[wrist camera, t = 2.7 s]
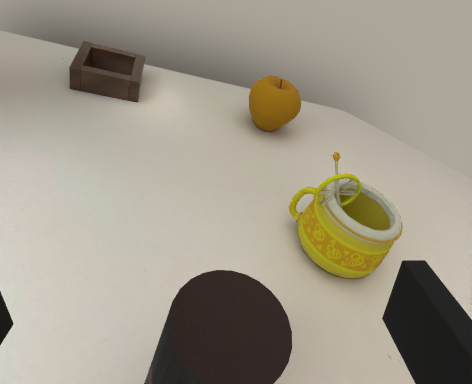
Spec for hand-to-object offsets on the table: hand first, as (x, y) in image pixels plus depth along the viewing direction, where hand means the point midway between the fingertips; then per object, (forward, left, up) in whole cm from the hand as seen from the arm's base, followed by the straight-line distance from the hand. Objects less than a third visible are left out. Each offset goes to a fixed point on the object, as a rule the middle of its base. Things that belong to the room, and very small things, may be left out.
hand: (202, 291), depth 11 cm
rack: (-34, +37, -20) cm, 55 cm away
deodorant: (+2, +2, -20) cm, 20 cm away
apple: (-9, +48, -20) cm, 53 cm away
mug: (+8, +28, -20) cm, 35 cm away
